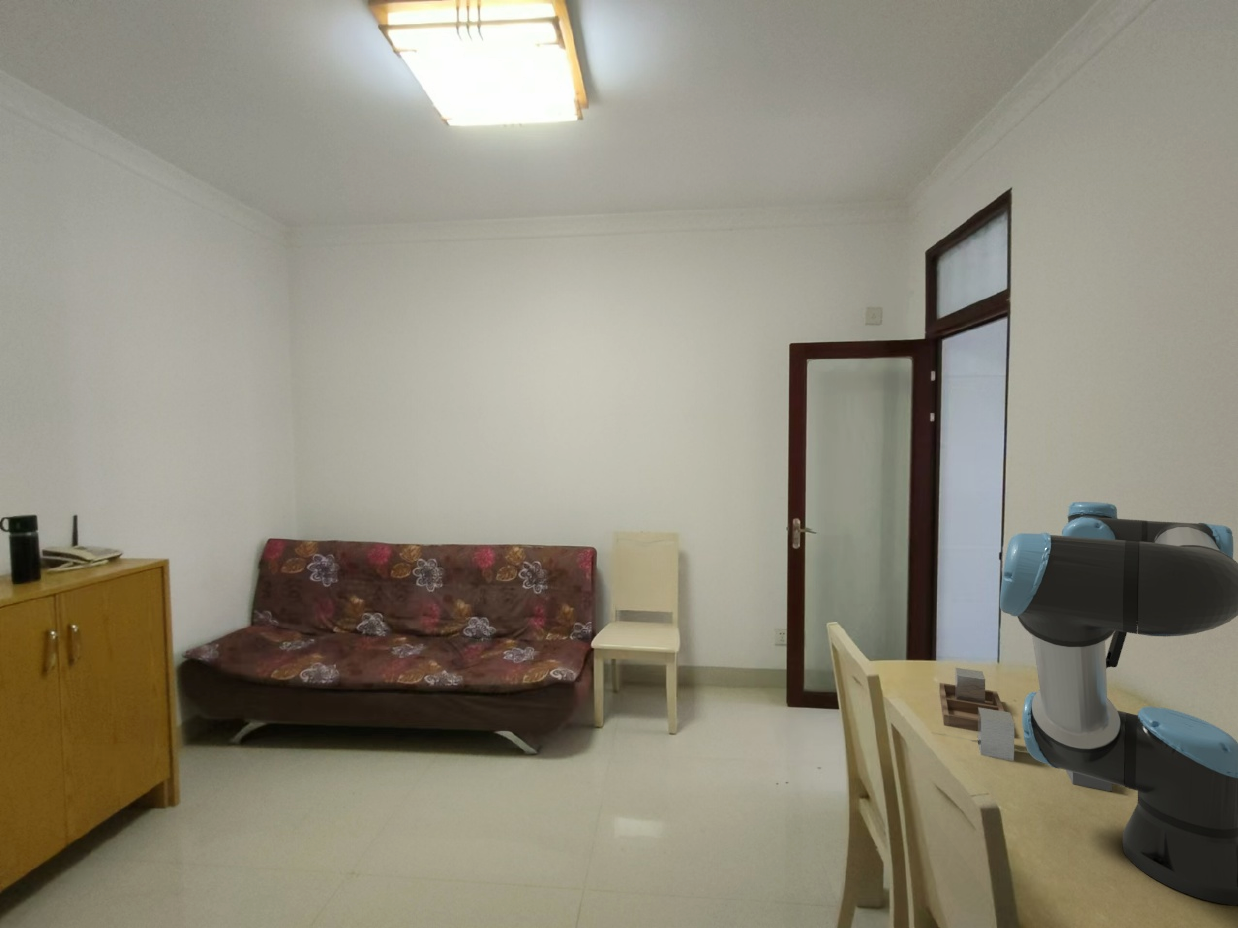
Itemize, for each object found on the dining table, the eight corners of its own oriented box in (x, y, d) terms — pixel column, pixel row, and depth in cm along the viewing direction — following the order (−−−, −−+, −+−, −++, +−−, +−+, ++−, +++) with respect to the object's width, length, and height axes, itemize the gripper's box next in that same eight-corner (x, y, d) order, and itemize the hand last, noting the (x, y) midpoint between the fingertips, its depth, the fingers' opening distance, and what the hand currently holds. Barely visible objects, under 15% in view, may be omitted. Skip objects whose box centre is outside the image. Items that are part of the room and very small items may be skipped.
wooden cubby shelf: (1009, 741, 132) (1009, 726, 131) (943, 729, 137) (943, 714, 137) (996, 704, 150) (996, 691, 150) (939, 695, 156) (939, 682, 156)
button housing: (1111, 791, 112) (1111, 776, 112) (1072, 783, 115) (1073, 768, 115) (1102, 776, 117) (1102, 761, 117) (1065, 768, 120) (1065, 754, 120)
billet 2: (1013, 761, 123) (1014, 723, 123) (980, 754, 126) (981, 718, 126) (1009, 748, 129) (1009, 712, 128) (977, 742, 131) (978, 707, 131)
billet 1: (984, 711, 144) (985, 679, 144) (956, 706, 147) (957, 675, 147) (982, 702, 150) (982, 671, 149) (955, 697, 152) (955, 667, 152)
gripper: (1129, 580, 116) (1126, 697, 116) (1044, 573, 122) (1043, 685, 122) (1142, 588, 109) (1140, 713, 109) (1053, 580, 115) (1051, 699, 115)
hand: (1089, 698), depth 116 cm, fingers closed
